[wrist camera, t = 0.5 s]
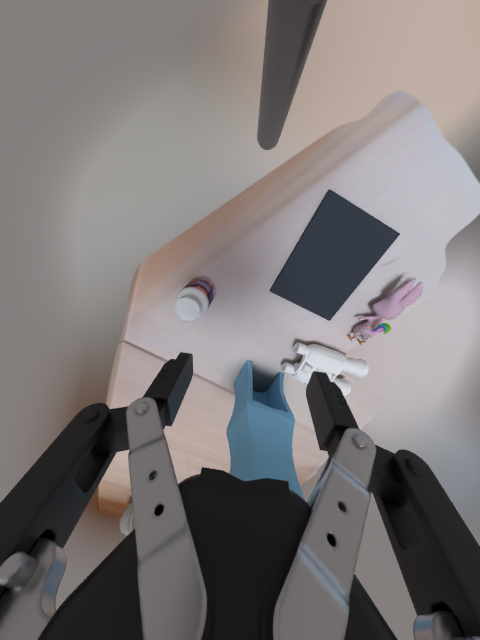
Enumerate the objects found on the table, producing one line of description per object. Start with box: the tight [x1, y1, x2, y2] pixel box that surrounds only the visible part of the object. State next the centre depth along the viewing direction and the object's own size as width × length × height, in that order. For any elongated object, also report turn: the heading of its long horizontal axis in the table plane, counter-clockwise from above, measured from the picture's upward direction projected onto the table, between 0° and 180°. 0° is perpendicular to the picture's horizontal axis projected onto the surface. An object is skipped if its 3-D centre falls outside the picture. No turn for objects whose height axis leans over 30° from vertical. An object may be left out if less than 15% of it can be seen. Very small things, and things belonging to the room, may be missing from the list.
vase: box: [227, 360, 304, 499], centre depth 36 cm, size 10×10×25 cm
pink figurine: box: [347, 278, 423, 344], centre depth 35 cm, size 6×6×15 cm
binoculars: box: [282, 342, 369, 397], centre depth 42 cm, size 10×16×5 cm, turn 69°
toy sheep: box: [119, 502, 135, 536], centre depth 77 cm, size 11×17×11 cm, turn 122°
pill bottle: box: [175, 278, 215, 321], centre depth 33 cm, size 5×5×10 cm
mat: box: [270, 190, 400, 321], centre depth 34 cm, size 18×14×1 cm
